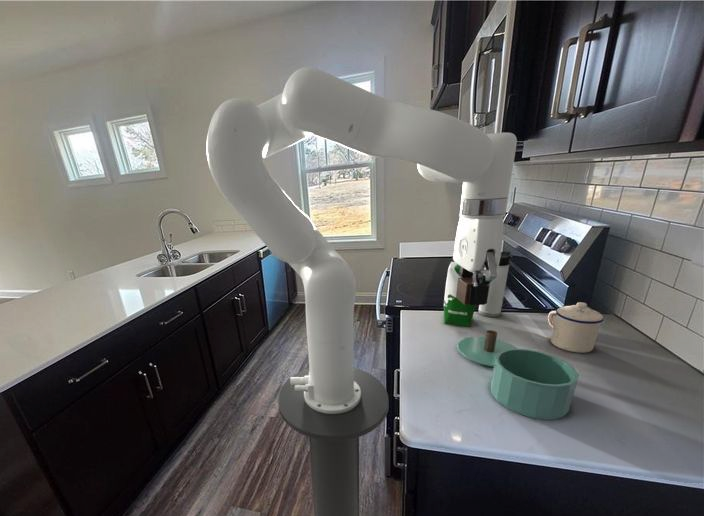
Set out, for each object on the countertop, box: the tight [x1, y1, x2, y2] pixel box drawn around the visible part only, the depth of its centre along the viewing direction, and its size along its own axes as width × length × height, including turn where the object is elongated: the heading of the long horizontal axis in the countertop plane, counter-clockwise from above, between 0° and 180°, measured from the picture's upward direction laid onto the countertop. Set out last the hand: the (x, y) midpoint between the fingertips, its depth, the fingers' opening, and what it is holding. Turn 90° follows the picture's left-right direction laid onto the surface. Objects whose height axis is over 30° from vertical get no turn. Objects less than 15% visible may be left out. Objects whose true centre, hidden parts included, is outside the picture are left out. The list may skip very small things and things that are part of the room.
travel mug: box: [477, 250, 512, 318], centre depth 99 cm, size 6×7×20 cm
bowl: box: [490, 348, 580, 421], centre depth 64 cm, size 13×13×8 cm
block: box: [456, 277, 490, 305], centre depth 64 cm, size 4×4×4 cm
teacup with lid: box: [547, 301, 604, 354], centre depth 81 cm, size 12×9×12 cm
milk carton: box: [443, 261, 481, 328], centre depth 96 cm, size 9×9×20 cm
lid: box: [457, 329, 518, 368], centre depth 80 cm, size 14×14×6 cm
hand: (471, 298), depth 65 cm, fingers closed on block, 4 cm apart
